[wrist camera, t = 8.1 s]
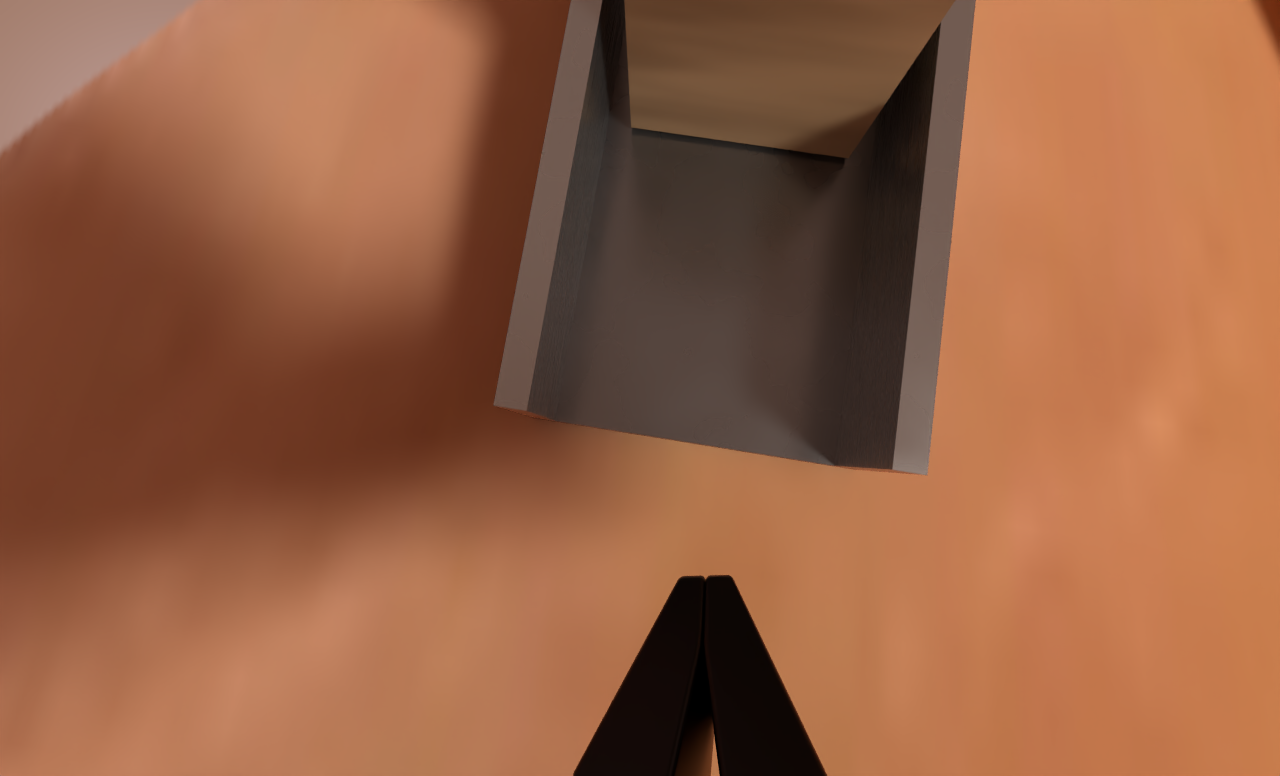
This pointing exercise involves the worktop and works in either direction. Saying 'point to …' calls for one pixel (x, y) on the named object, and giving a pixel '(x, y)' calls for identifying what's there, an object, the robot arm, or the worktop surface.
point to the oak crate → (772, 67)
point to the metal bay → (739, 269)
